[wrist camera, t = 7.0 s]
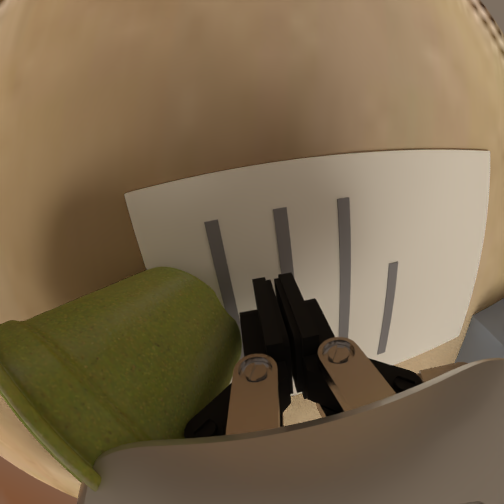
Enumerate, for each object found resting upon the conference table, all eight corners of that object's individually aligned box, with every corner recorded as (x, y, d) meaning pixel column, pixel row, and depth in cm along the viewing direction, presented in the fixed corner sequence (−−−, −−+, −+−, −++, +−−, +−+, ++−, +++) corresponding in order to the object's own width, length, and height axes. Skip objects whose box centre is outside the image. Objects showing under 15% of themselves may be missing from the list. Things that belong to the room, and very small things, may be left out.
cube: (489, 341, 21) (520, 374, 15) (454, 362, 20) (485, 403, 15) (506, 295, 18) (544, 328, 13) (472, 315, 18) (513, 356, 12)
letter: (457, 334, 18) (459, 336, 18) (206, 407, 17) (206, 411, 17) (488, 150, 12) (490, 151, 12) (125, 193, 11) (123, 194, 11)
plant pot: (266, 418, 13) (192, 553, 6) (126, 357, 16) (34, 440, 8) (301, 258, 9) (132, 515, 2) (104, 213, 12) (-56, 282, 5)
